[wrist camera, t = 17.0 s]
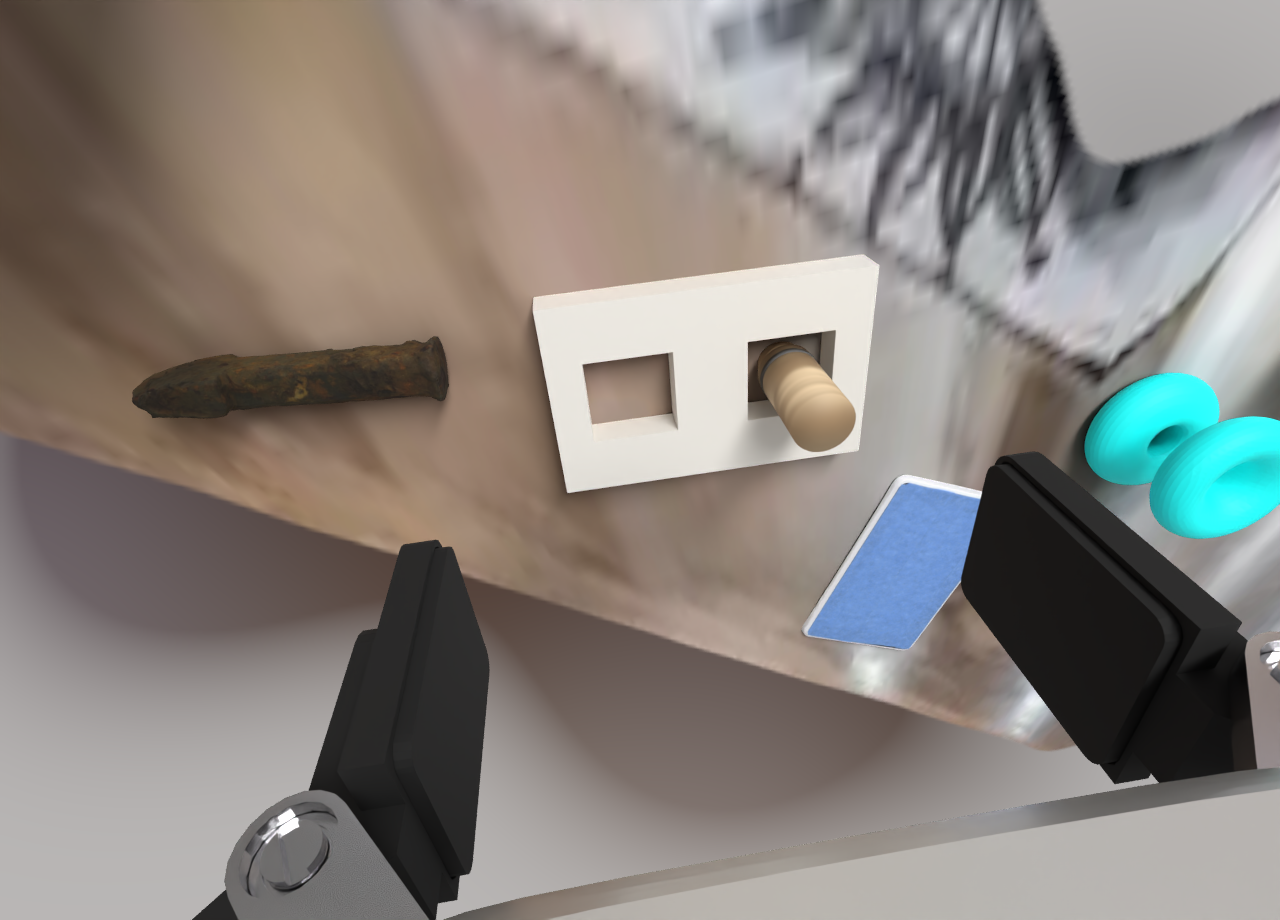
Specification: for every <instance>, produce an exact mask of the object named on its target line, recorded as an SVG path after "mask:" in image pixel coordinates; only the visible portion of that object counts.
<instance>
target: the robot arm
mask: <svg viewBox="0 0 1280 920" xmlns="http://www.w3.org/2000/svg"><path fill="white" fill-rule="evenodd" d="M961 586H962V590H963V593H964V595H965V597H966V598H967V600H968V601H969V602H970V604H971V605H972V606H973V608H974V609H975V610H976V612H977V613H978V614H979V616H980V617H981V618H982V620H983V621H984V622H985V624H986V625H987V626H988V628H989V629H990V630H991V632H992V633H993V634H994V636H995V637H996V638H997V640H998V641H999V642H1000V644H1001V645H1002V646H1003V648H1004V649H1005V650H1006V652H1007V653H1008V654H1009V656H1010V657H1011V658H1012V660H1013V661H1014V662H1015V664H1016V665H1017V666H1018V668H1019V669H1020V670H1021V672H1022V673H1023V674H1024V676H1025V677H1026V678H1027V680H1028V681H1029V682H1030V684H1031V685H1032V686H1033V688H1034V689H1035V690H1036V692H1037V693H1038V694H1039V696H1040V697H1041V698H1042V700H1043V701H1044V702H1045V704H1046V705H1047V706H1048V708H1049V709H1050V710H1051V712H1052V713H1053V714H1054V716H1055V717H1056V718H1057V720H1058V721H1059V722H1060V724H1061V725H1062V726H1063V728H1064V729H1065V730H1066V732H1067V733H1068V734H1069V736H1070V737H1071V738H1072V740H1073V741H1074V742H1075V744H1076V745H1077V746H1078V748H1079V749H1080V750H1081V752H1082V753H1083V754H1084V756H1085V757H1086V758H1087V759H1088V760H1090V761H1091V762H1092V763H1094V764H1097V765H1098V764H1100V766H1101V767H1102V768H1103V770H1104V771H1105V772H1106V773H1107V775H1108V776H1109V777H1110V779H1111V780H1112V781H1113V783H1114V784H1118V783H1124V782H1130V781H1135V780H1141V779H1146V778H1149V776H1150V774H1152V775H1153V776H1154V777H1155V779H1156V780H1157V781H1158V782H1159V783H1157V784H1151V785H1145V786H1138V787H1132V788H1126V789H1121V790H1115V791H1109V792H1103V793H1097V794H1091V795H1086V796H1080V797H1074V798H1068V799H1062V800H1056V801H1050V802H1045V803H1039V804H1033V805H1027V806H1021V807H1015V808H1009V809H1003V810H998V811H992V812H986V813H980V814H975V815H969V816H964V817H957V818H952V819H946V820H940V821H935V822H929V823H924V824H918V825H912V826H906V827H900V828H895V829H889V830H884V831H878V832H872V833H867V834H861V835H855V836H850V837H844V838H838V839H833V840H828V841H822V842H816V843H810V844H804V845H799V846H793V847H788V848H782V849H777V850H771V851H766V852H760V853H755V854H749V855H744V856H738V857H733V858H727V859H722V860H716V861H711V862H705V863H700V864H695V865H689V866H683V867H678V868H672V869H667V870H661V871H656V872H650V873H645V874H639V875H634V876H628V877H623V878H618V879H614V880H609V881H604V882H599V883H593V884H588V885H584V886H579V887H574V888H569V889H564V890H559V891H554V892H549V893H544V894H539V895H534V896H529V897H524V898H520V899H515V900H511V901H508V902H504V903H500V904H496V905H492V906H488V907H484V908H480V909H476V910H472V911H468V912H464V913H462V914H459V915H456V916H453V917H450V918H447V919H444V920H1280V632H1265V633H1261V634H1257V635H1255V636H1254V637H1252V638H1251V639H1250V640H1249V641H1247V640H1246V639H1245V638H1244V637H1243V636H1242V635H1240V634H1239V633H1238V632H1237V630H1238V629H1239V627H1240V625H1241V624H1242V622H1241V621H1240V620H1239V619H1237V618H1236V617H1235V616H1234V615H1233V614H1232V613H1230V612H1229V611H1228V610H1227V609H1226V608H1224V607H1223V606H1222V605H1221V604H1220V603H1218V602H1217V601H1216V600H1215V599H1214V598H1213V597H1211V596H1210V595H1209V594H1208V593H1207V592H1205V591H1204V590H1203V589H1202V588H1201V587H1199V586H1198V585H1197V584H1196V583H1195V582H1193V581H1192V580H1191V579H1190V578H1189V577H1188V576H1186V575H1185V574H1184V573H1183V572H1182V571H1180V570H1179V569H1178V568H1177V567H1176V566H1174V565H1173V564H1172V563H1171V562H1170V561H1169V560H1167V559H1166V558H1165V557H1164V556H1163V555H1161V554H1160V553H1159V552H1158V551H1157V550H1155V549H1154V548H1153V547H1152V546H1151V545H1149V544H1148V543H1147V542H1146V541H1145V540H1144V539H1142V538H1141V537H1140V536H1139V535H1138V534H1136V533H1135V532H1134V531H1133V530H1132V529H1130V528H1129V527H1128V526H1127V525H1126V524H1125V523H1123V522H1122V521H1121V520H1120V519H1119V518H1117V517H1116V516H1115V515H1114V514H1113V513H1111V512H1110V511H1109V510H1108V509H1107V508H1105V507H1104V506H1103V505H1102V504H1101V503H1100V502H1098V501H1097V500H1096V499H1095V498H1094V497H1092V496H1091V495H1090V494H1089V493H1088V492H1086V491H1085V490H1084V489H1083V488H1082V487H1081V486H1079V485H1078V484H1077V483H1076V482H1075V481H1073V480H1072V479H1071V478H1070V477H1069V476H1067V475H1066V474H1065V473H1064V472H1063V471H1061V470H1060V469H1059V468H1058V467H1057V466H1056V465H1054V464H1053V463H1052V462H1051V461H1050V460H1048V459H1047V458H1046V457H1045V456H1044V455H1042V454H1040V453H1039V452H1027V453H1020V454H1013V455H1006V456H1002V457H1000V458H999V459H998V460H997V461H996V463H995V466H992V467H990V468H989V469H988V471H987V474H986V478H985V482H984V486H983V490H982V494H981V499H980V503H979V507H978V511H977V515H976V519H975V523H974V527H973V531H972V535H971V539H970V543H969V547H968V551H967V555H966V559H965V563H964V567H963V571H962V575H961ZM488 682H489V659H488V654H487V650H486V647H485V644H484V641H483V638H482V635H481V632H480V629H479V626H478V623H477V620H476V617H475V614H474V611H473V608H472V604H471V602H470V598H469V595H468V593H467V589H466V587H465V583H464V580H463V577H462V574H461V571H460V568H459V565H458V562H457V559H456V556H455V553H454V551H453V549H452V547H443V548H442V546H441V544H440V542H439V541H438V540H431V541H424V542H418V543H411V544H404V545H403V546H401V549H400V551H399V555H398V558H397V562H396V565H395V569H394V572H393V576H392V580H391V583H390V587H389V590H388V593H387V597H386V601H385V604H384V607H383V611H382V615H381V618H380V622H379V625H378V629H373V630H365V631H363V632H362V633H360V634H359V635H358V638H357V640H356V642H355V645H354V648H353V652H352V654H351V658H350V661H349V664H348V667H347V670H346V674H345V677H344V680H343V683H342V686H341V689H340V693H339V696H338V699H337V702H336V705H335V708H334V712H333V715H332V718H331V721H330V725H329V728H328V731H327V734H326V737H325V741H324V743H323V747H322V750H321V753H320V756H319V759H318V763H317V766H316V769H315V772H314V775H313V778H312V782H311V785H310V788H309V791H304V792H301V793H298V794H295V795H292V796H289V797H287V798H284V799H283V800H281V801H280V802H278V803H276V804H275V805H274V806H272V807H270V808H268V809H267V810H266V811H265V812H264V813H263V814H261V815H260V816H259V817H258V818H257V819H256V820H255V821H254V822H253V823H252V824H250V826H249V827H248V829H247V830H246V831H245V832H244V834H243V835H242V836H241V838H240V839H239V840H238V842H237V843H236V845H235V847H234V850H233V852H232V854H231V856H230V858H229V860H228V863H227V869H226V875H225V886H226V890H225V891H224V892H223V893H222V894H220V895H219V896H218V897H217V898H216V899H215V900H214V901H212V902H211V903H210V904H209V905H208V906H207V907H206V908H205V909H203V910H202V911H201V912H200V913H199V914H198V915H197V916H196V917H194V918H193V919H192V920H436V914H437V905H438V903H442V902H448V901H454V900H457V897H458V887H459V877H460V876H461V875H466V874H469V873H470V871H471V867H472V862H473V852H474V841H475V830H476V818H477V806H478V796H479V784H480V773H481V762H482V749H483V739H484V727H485V716H486V705H487V694H488V693H487V692H488Z"/></svg>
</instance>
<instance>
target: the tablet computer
mask: <svg viewBox="0 0 1280 920" xmlns="http://www.w3.org/2000/svg"><path fill="white" fill-rule="evenodd" d="M981 494H982V491H978V490H974V489H970V488H965V487H961V486H957V485H952V484H948V483H943V482H939V481H934V480H930V479H925V478H921V477H916V476H911V475H902V476H899V477H898V478H896V479H895V480H894V482H893V483H892V485H891V486H890V488H889V490H888V491H887V493H886V495H885V496H884V498H883V500H882V501H881V503H880V505H879V506H878V508H877V509H876V511H875V513H874V514H873V516H872V518H871V519H870V521H869V522H868V524H867V526H866V527H865V529H864V530H863V532H862V534H861V535H860V537H859V538H858V540H857V542H856V543H855V545H854V546H853V548H852V550H851V551H850V553H849V554H848V556H847V557H846V559H845V561H844V562H843V564H842V565H841V567H840V569H839V570H838V572H837V573H836V575H835V576H834V578H833V580H832V581H831V583H830V584H829V586H828V587H827V589H826V590H825V592H824V594H823V595H822V597H821V598H820V600H819V601H818V603H817V605H816V606H815V608H814V609H813V610H812V612H811V614H810V615H809V617H808V618H807V620H806V622H805V623H804V625H803V627H802V632H803V633H804V634H805V635H806V636H808V637H815V638H822V639H828V640H835V641H841V642H848V643H855V644H861V645H868V646H875V647H881V648H888V649H895V650H907V649H909V648H910V647H912V646H913V644H914V643H915V642H916V640H917V639H918V638H919V636H920V635H921V634H922V632H923V631H924V630H925V628H926V627H927V626H928V624H929V623H930V622H931V620H932V619H933V618H934V616H935V615H936V614H937V612H938V611H939V610H940V608H941V607H942V606H943V604H944V603H945V602H946V600H947V599H948V598H949V596H950V595H951V594H952V592H953V591H954V590H955V588H956V587H957V586H958V585H959V583H960V582H961V575H962V571H963V567H964V563H965V559H966V555H967V551H968V547H969V543H970V539H971V535H972V531H973V527H974V523H975V519H976V515H977V511H978V507H979V503H980V499H981Z"/></svg>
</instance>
